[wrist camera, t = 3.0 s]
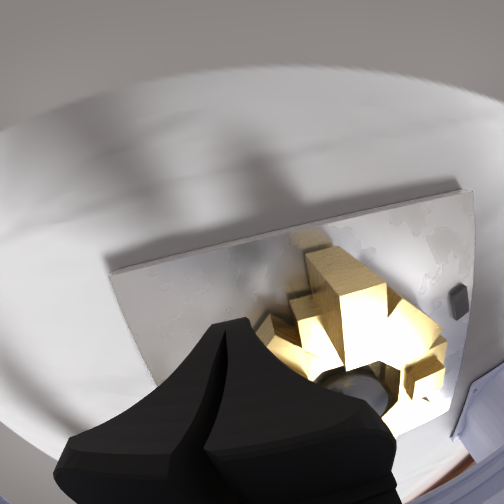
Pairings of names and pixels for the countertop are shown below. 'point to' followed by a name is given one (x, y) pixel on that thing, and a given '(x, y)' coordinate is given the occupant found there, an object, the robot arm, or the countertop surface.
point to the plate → (298, 285)
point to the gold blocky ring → (360, 333)
